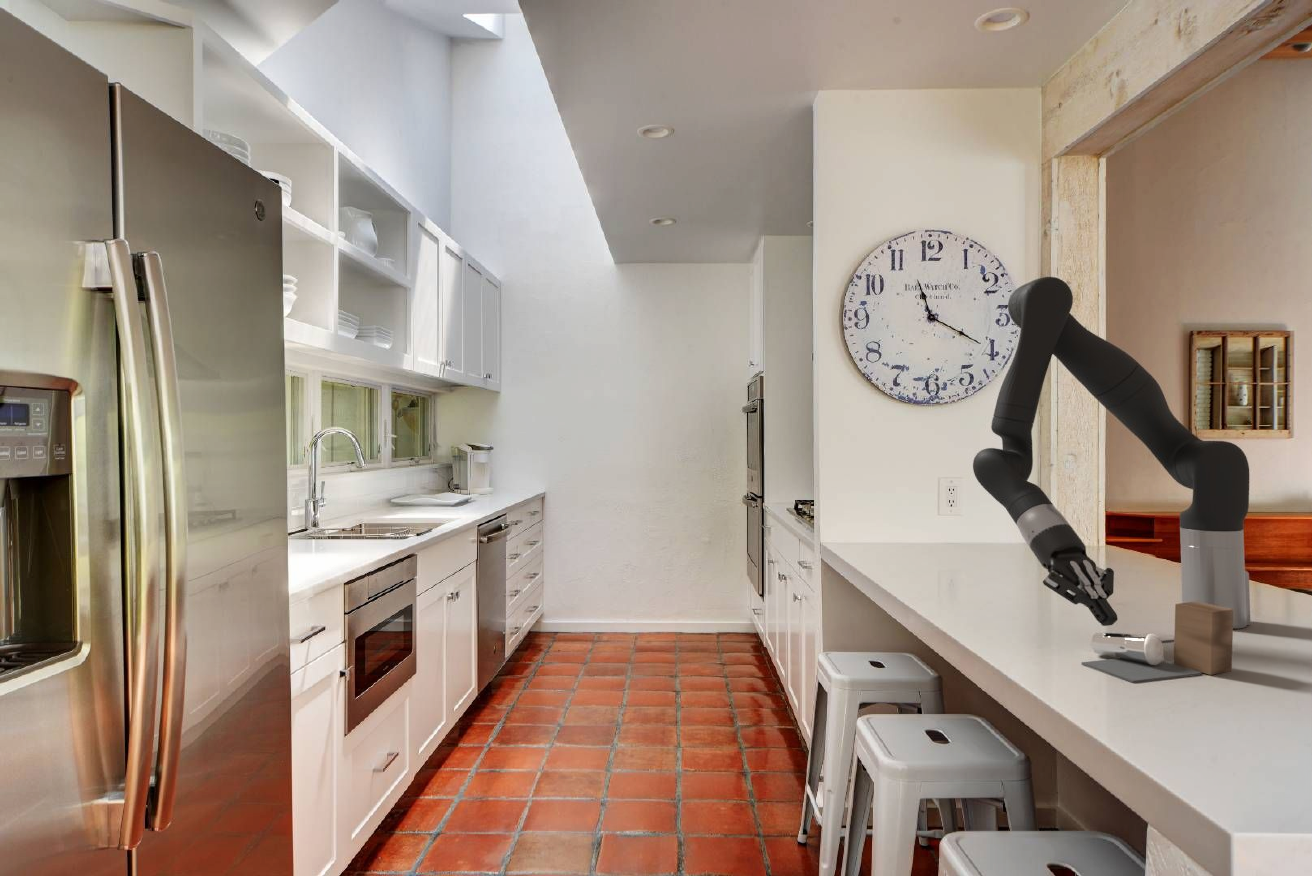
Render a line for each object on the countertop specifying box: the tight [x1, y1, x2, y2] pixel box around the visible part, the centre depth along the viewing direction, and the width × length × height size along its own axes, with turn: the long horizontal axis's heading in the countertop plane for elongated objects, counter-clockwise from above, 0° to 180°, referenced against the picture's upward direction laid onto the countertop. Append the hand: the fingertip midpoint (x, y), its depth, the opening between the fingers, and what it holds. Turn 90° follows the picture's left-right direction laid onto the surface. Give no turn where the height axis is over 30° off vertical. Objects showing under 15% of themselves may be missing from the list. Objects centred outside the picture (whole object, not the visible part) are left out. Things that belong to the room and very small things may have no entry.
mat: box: [1081, 657, 1203, 684], centre depth 107 cm, size 12×9×1 cm
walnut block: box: [1173, 601, 1234, 676], centre depth 107 cm, size 5×5×9 cm
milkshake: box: [1090, 632, 1174, 665], centre depth 111 cm, size 4×5×10 cm
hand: (1110, 622), depth 114 cm, fingers closed
